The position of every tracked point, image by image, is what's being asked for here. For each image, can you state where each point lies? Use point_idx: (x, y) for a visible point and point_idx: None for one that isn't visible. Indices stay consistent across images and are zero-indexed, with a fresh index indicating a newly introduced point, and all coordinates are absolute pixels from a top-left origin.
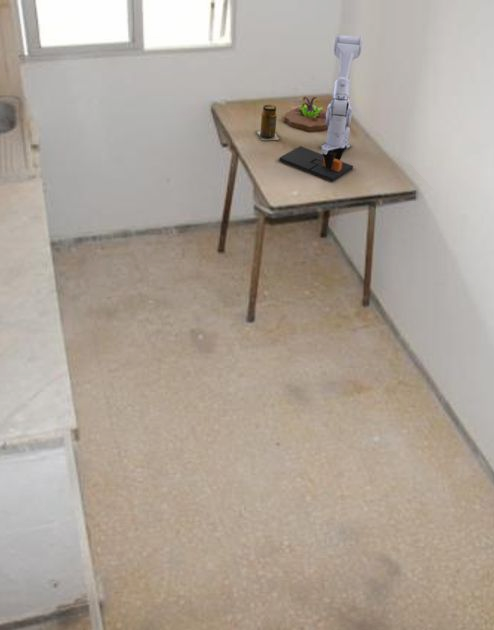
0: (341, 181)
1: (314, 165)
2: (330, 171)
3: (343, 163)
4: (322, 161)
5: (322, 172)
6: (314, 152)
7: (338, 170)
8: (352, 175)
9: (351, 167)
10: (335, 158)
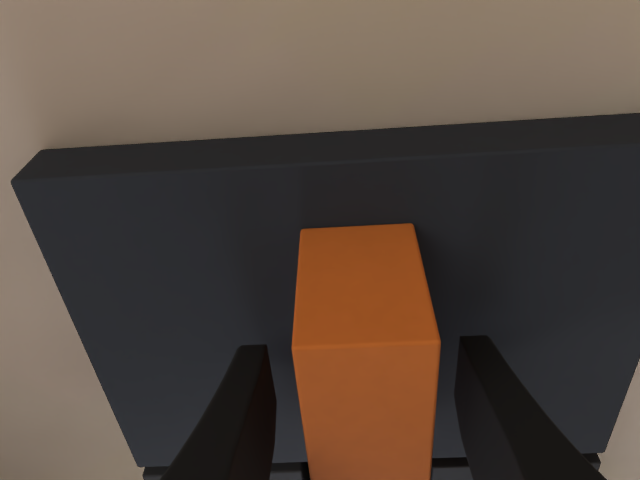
0: (561, 8)
1: (468, 473)
2: (487, 296)
3: (107, 315)
4: (300, 471)
5: (593, 344)
6: None
7: (402, 234)
8: (201, 12)
9: (66, 171)
10: (313, 463)
